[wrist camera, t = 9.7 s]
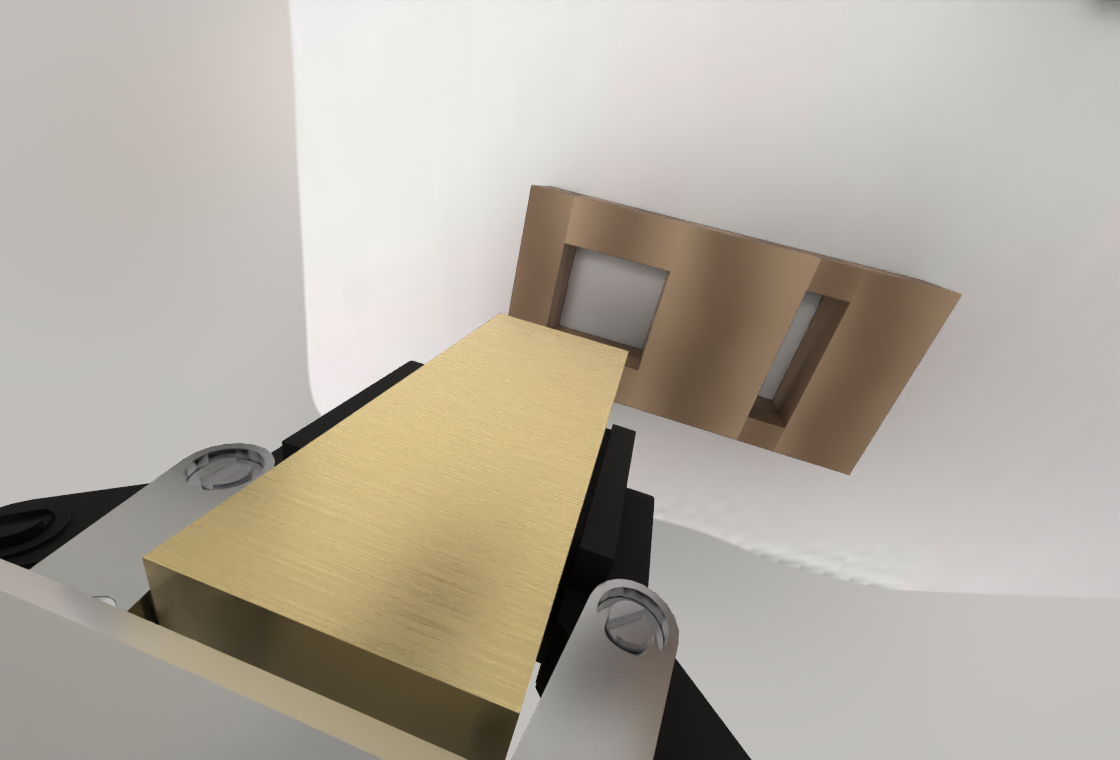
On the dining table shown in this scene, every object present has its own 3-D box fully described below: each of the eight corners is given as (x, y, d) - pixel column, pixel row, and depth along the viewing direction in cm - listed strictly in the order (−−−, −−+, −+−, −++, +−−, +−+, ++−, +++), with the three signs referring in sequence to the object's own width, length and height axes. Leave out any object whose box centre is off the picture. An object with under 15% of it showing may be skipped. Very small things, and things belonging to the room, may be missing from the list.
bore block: (922, 280, 23) (961, 294, 19) (829, 442, 27) (849, 475, 24) (549, 186, 25) (531, 185, 22) (518, 347, 29) (499, 366, 26)
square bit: (628, 351, 13) (519, 713, 4) (594, 461, 15) (463, 891, 6) (500, 313, 13) (142, 557, 4) (481, 424, 15) (195, 763, 6)
